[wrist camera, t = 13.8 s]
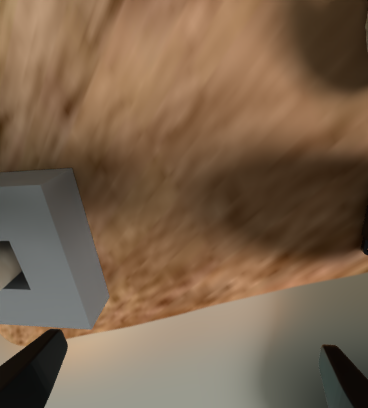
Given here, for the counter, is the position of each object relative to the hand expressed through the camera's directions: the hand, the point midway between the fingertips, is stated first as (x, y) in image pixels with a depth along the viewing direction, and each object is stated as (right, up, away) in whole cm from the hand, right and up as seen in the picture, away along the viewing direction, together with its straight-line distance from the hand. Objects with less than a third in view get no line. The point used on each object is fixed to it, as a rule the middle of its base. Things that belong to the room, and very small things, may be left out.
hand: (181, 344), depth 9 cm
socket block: (-15, +1, +17) cm, 23 cm away
